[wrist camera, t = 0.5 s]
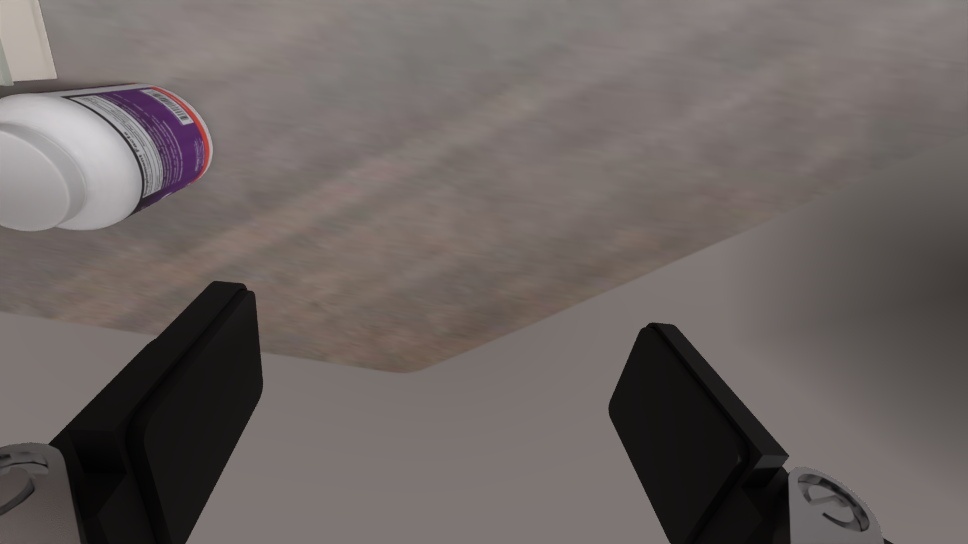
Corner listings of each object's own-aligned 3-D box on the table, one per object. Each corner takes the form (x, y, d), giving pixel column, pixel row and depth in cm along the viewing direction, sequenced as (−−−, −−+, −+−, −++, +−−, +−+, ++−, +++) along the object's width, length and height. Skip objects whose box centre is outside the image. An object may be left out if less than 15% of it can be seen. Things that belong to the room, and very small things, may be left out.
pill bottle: (121, 176, 35) (-58, 244, 22) (97, 73, 32) (-131, 85, 19) (224, 189, 36) (110, 260, 24) (212, 92, 33) (72, 115, 20)
